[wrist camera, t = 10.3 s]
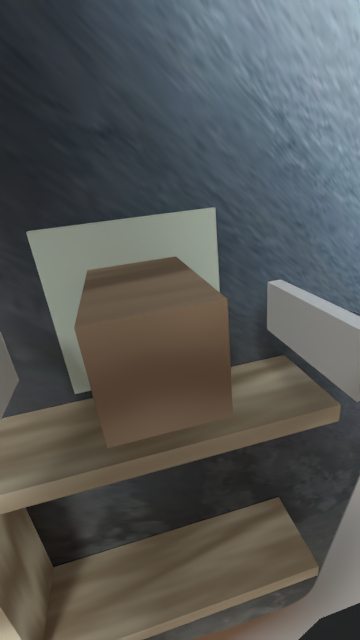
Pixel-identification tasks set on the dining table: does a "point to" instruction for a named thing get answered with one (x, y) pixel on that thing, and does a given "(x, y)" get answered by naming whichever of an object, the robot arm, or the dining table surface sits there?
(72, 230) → the felt mat
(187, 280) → the walnut block
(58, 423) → the u-shaped wooden frame
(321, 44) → the dining table surface
